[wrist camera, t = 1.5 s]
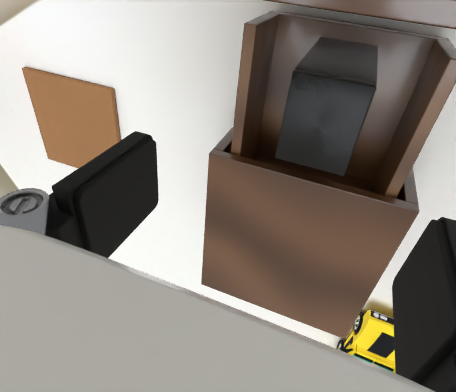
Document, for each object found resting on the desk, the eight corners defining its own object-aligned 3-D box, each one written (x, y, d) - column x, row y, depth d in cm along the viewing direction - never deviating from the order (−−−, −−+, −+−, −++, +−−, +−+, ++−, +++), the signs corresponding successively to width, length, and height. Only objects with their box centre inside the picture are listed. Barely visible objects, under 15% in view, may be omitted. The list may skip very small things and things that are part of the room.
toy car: (384, 368, 44) (385, 437, 37) (328, 345, 45) (319, 407, 39) (430, 321, 36) (440, 396, 30) (361, 294, 38) (357, 361, 32)
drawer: (279, -114, 20) (245, -139, 15) (525, -98, 17) (586, -123, 12) (244, 148, 32) (218, 185, 27) (388, 187, 29) (389, 236, 23)
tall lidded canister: (320, 36, 23) (292, 70, 16) (378, 46, 22) (377, 87, 15) (304, 104, 26) (274, 158, 19) (354, 115, 25) (344, 176, 18)
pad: (25, 66, 37) (21, 67, 37) (114, 88, 34) (110, 90, 34) (51, 156, 45) (48, 158, 44) (126, 180, 42) (123, 183, 41)
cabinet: (245, 112, 31) (209, 153, 24) (410, 151, 27) (419, 211, 21) (230, 231, 40) (201, 284, 34) (351, 272, 37) (344, 339, 30)
